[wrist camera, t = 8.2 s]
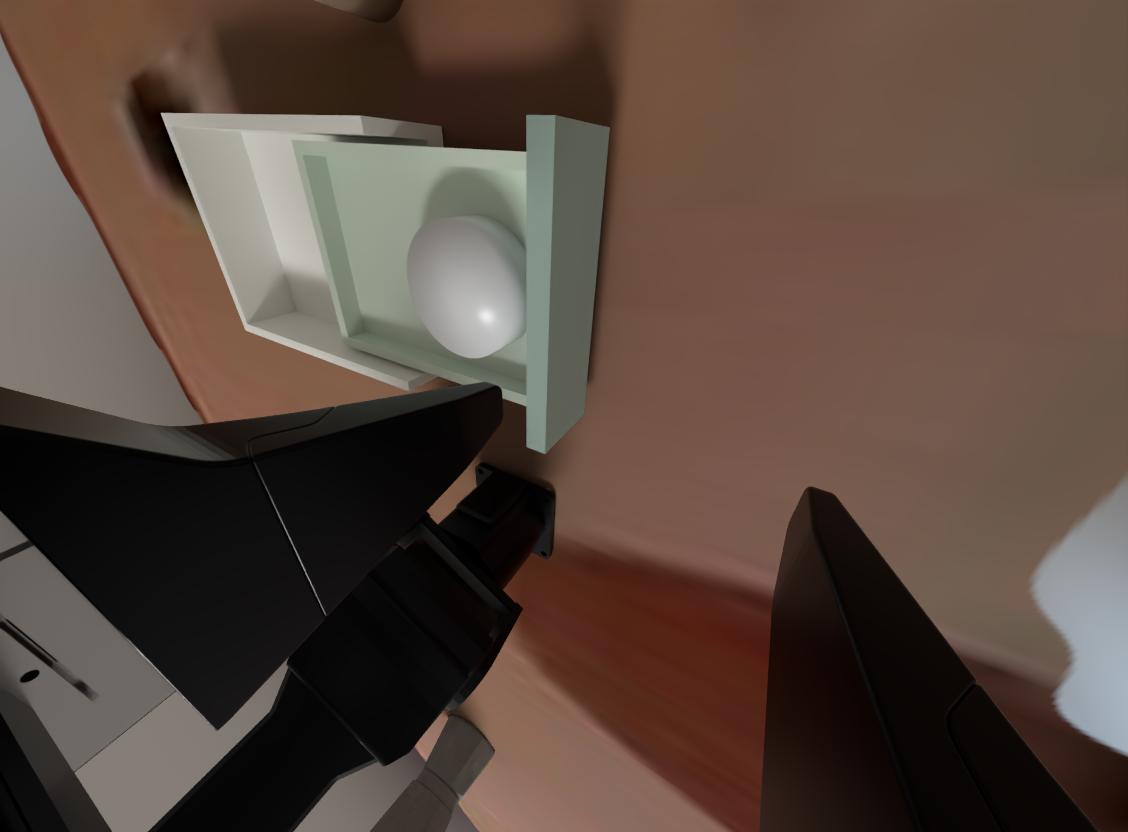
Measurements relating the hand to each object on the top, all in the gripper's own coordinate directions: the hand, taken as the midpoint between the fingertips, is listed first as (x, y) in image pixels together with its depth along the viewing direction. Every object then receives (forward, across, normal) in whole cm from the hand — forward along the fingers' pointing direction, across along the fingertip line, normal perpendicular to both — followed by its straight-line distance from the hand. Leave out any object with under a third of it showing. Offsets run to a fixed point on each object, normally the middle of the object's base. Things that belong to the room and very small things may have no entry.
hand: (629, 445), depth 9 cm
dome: (+9, +11, 0) cm, 14 cm away
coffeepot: (+11, +21, +72) cm, 76 cm away
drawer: (+10, +13, 0) cm, 16 cm away
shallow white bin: (+11, +23, 0) cm, 25 cm away
